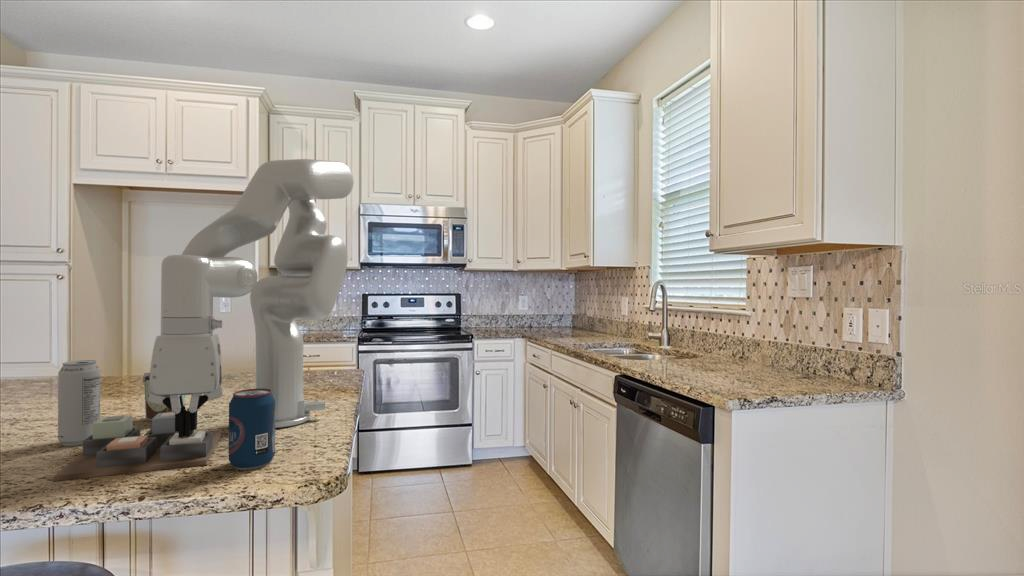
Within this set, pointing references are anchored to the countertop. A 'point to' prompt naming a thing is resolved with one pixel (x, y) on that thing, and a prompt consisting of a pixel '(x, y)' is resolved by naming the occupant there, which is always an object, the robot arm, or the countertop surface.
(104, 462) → the keypad
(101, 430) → the sage key
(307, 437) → the countertop surface
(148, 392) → the food container
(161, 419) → the slate key
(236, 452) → the soda can
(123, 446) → the terracotta key
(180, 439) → the ivory key
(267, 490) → the countertop surface
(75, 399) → the energy drink can
